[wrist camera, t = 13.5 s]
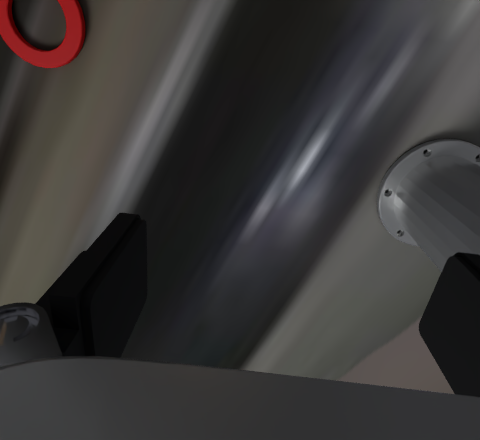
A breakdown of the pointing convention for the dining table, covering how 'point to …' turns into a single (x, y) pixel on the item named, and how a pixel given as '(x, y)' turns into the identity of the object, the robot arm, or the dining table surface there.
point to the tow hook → (62, 55)
